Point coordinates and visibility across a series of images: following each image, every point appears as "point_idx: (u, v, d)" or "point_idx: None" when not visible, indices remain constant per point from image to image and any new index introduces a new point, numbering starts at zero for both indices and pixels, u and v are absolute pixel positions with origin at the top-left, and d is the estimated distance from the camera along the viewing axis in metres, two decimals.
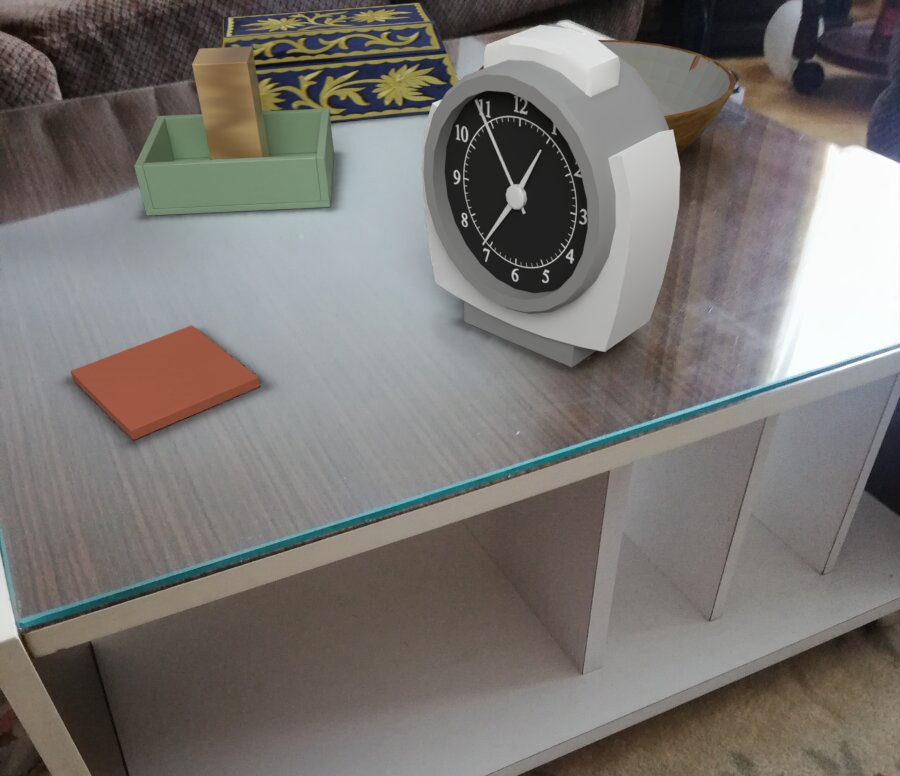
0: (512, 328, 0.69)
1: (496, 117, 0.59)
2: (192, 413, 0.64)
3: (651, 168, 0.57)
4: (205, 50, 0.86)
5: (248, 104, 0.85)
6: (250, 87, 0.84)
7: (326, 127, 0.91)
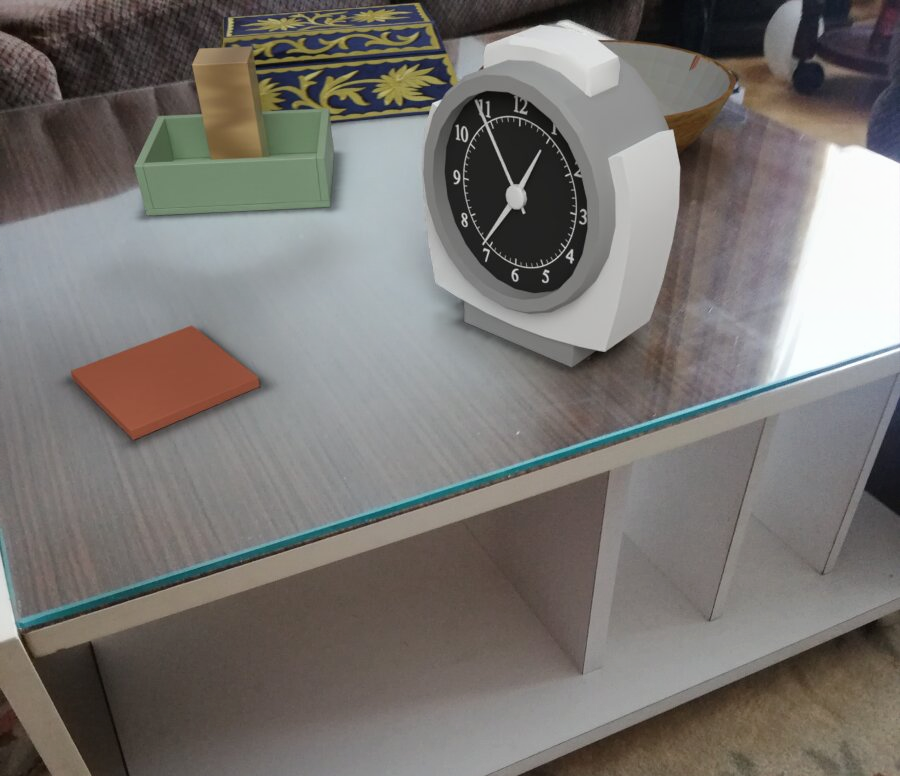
0: (512, 328, 0.69)
1: (496, 117, 0.59)
2: (192, 413, 0.64)
3: (651, 168, 0.57)
4: (205, 50, 0.86)
5: (248, 104, 0.85)
6: (250, 87, 0.84)
7: (326, 127, 0.91)
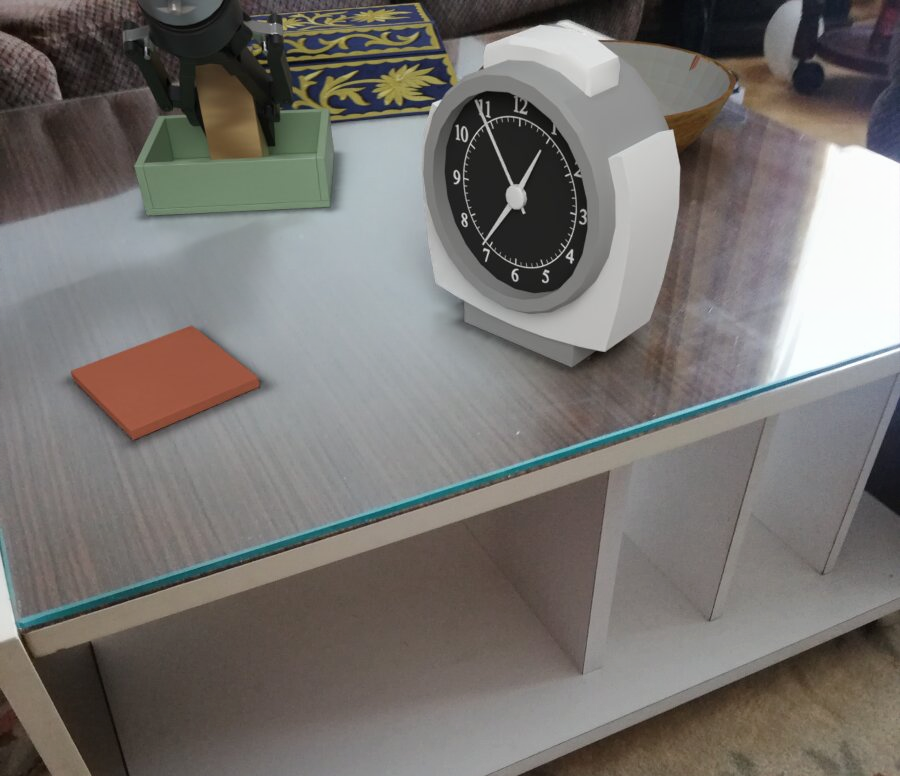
0: (512, 328, 0.69)
1: (496, 117, 0.59)
2: (192, 413, 0.64)
3: (651, 168, 0.57)
4: None
5: (248, 104, 0.85)
6: None
7: (326, 127, 0.91)
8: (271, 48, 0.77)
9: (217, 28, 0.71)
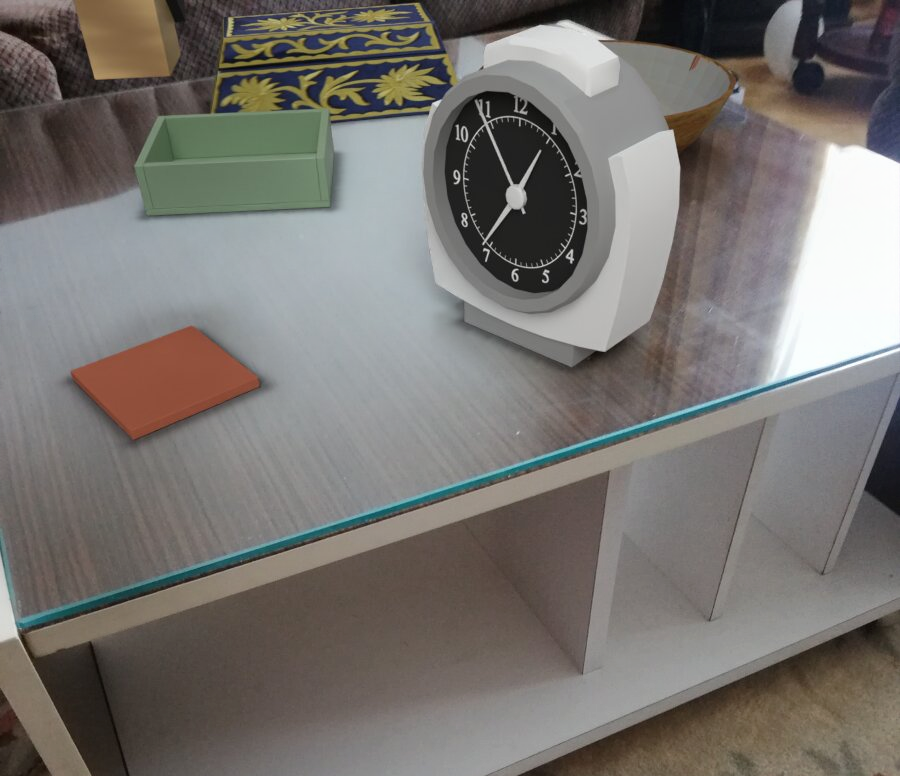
0: (512, 328, 0.69)
1: (496, 117, 0.59)
2: (192, 413, 0.64)
3: (651, 168, 0.57)
4: None
5: None
6: None
7: (326, 127, 0.91)
8: None
9: None
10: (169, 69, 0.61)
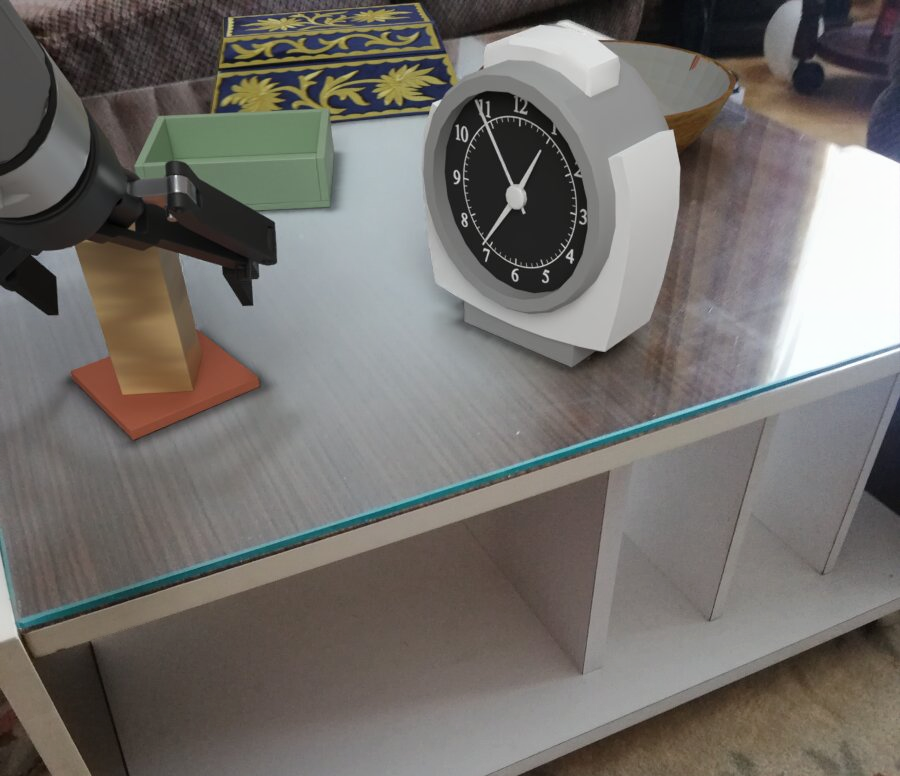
0: (512, 328, 0.69)
1: (496, 117, 0.59)
2: (192, 413, 0.64)
3: (652, 168, 0.57)
4: None
5: (159, 292, 0.59)
6: (161, 270, 0.58)
7: (326, 127, 0.91)
8: (175, 214, 0.49)
9: (77, 214, 0.44)
10: (192, 385, 0.65)
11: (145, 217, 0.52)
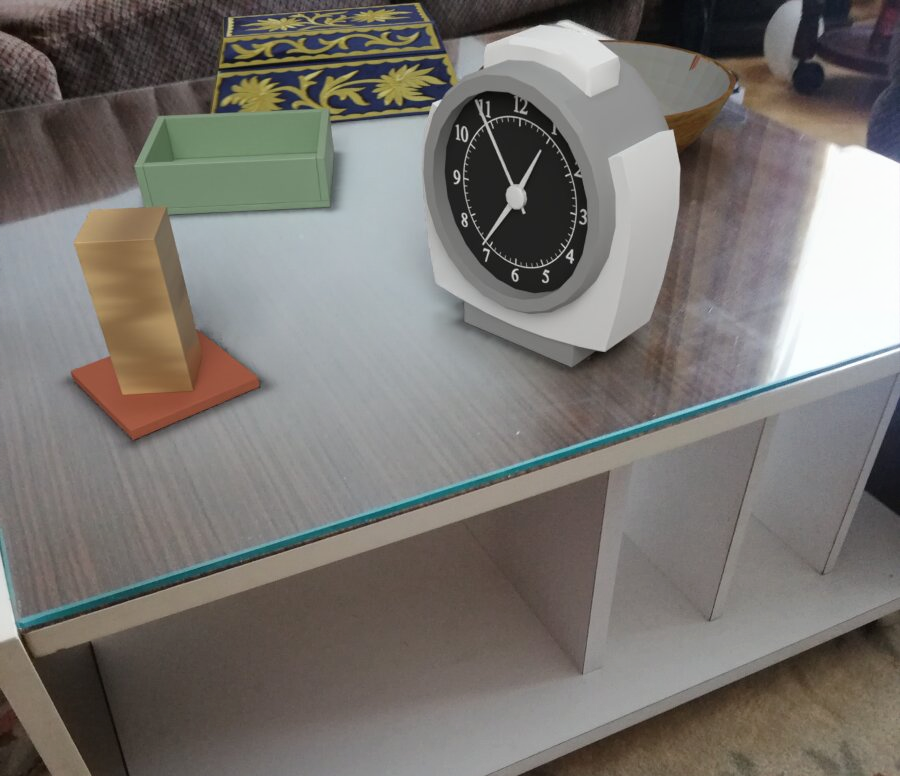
0: (512, 328, 0.69)
1: (496, 117, 0.59)
2: (192, 413, 0.64)
3: (652, 168, 0.57)
4: (98, 213, 0.60)
5: (159, 292, 0.59)
6: (161, 270, 0.58)
7: (326, 127, 0.91)
8: None
9: None
10: (192, 385, 0.65)
11: None
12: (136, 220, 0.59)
